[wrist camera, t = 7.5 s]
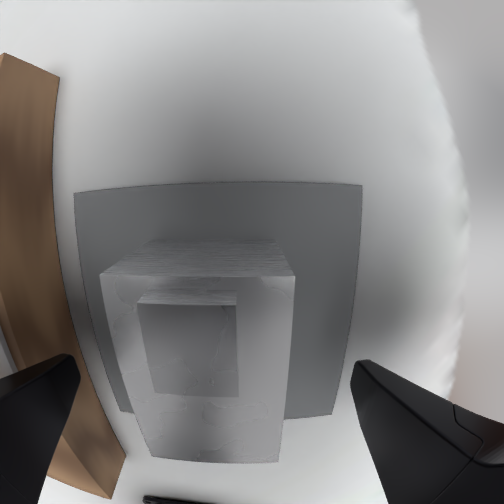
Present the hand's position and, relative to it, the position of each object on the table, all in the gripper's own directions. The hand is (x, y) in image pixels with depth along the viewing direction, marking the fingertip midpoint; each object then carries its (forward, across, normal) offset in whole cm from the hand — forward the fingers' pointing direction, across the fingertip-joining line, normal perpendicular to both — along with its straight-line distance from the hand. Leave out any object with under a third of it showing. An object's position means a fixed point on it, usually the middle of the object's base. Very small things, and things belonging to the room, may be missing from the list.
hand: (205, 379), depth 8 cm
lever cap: (+3, 0, 0) cm, 3 cm away
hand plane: (+4, +10, 0) cm, 11 cm away
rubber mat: (+4, 0, 0) cm, 4 cm away
